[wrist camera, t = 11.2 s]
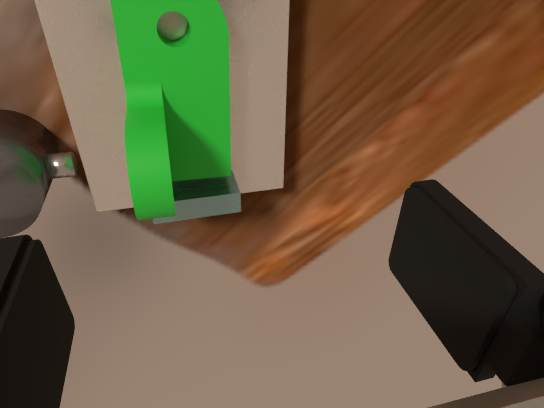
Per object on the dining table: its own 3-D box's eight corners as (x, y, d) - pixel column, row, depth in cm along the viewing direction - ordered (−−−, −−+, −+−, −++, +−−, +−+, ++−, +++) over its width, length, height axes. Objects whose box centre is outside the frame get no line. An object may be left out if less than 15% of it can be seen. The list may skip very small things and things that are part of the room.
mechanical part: (226, 162, 29) (249, 227, 22) (141, 169, 27) (139, 240, 21) (222, -27, 22) (253, -13, 16) (108, -31, 21) (92, -17, 14)
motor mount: (277, -92, 23) (311, -100, 19) (273, 169, 34) (294, 208, 29) (-166, -108, 19) (-274, -124, 14) (-15, 204, 29) (-47, 257, 24)
